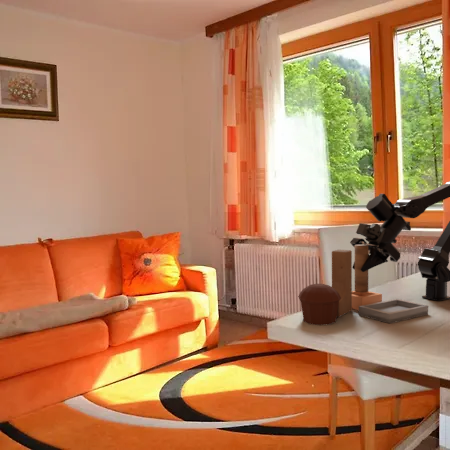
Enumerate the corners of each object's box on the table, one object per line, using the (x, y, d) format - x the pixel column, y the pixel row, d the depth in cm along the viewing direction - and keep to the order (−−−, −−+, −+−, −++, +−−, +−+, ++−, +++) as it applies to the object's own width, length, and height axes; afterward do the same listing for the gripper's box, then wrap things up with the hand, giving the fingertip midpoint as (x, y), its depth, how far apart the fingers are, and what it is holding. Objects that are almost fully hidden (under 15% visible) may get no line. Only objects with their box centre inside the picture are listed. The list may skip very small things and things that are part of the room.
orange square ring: (360, 302, 161) (361, 289, 161) (381, 307, 154) (381, 294, 154) (341, 305, 157) (341, 293, 157) (362, 311, 150) (362, 297, 149)
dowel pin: (361, 289, 158) (361, 244, 157) (371, 291, 154) (371, 245, 153) (351, 290, 156) (351, 245, 155) (361, 293, 152) (361, 246, 151)
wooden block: (339, 317, 144) (338, 253, 142) (324, 315, 146) (324, 252, 145) (352, 310, 151) (352, 250, 149) (338, 308, 153) (337, 249, 152)
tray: (396, 306, 154) (396, 298, 154) (428, 314, 145) (428, 305, 145) (358, 314, 146) (358, 306, 146) (389, 323, 136) (389, 314, 136)
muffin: (290, 321, 140) (290, 285, 140) (311, 313, 149) (310, 279, 148) (329, 328, 133) (329, 290, 132) (348, 319, 141) (348, 284, 140)
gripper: (355, 212, 163) (325, 248, 161) (392, 215, 146) (358, 256, 143) (376, 235, 166) (346, 271, 164) (414, 241, 149) (382, 281, 146)
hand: (357, 269), depth 154 cm, fingers closed on dowel pin, 4 cm apart
